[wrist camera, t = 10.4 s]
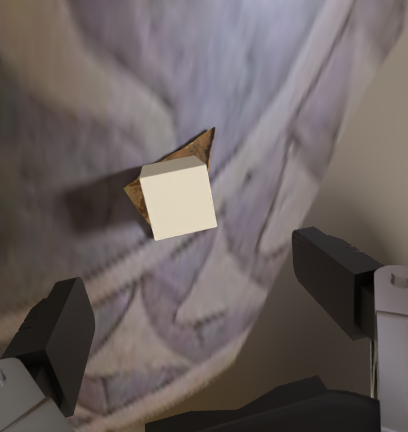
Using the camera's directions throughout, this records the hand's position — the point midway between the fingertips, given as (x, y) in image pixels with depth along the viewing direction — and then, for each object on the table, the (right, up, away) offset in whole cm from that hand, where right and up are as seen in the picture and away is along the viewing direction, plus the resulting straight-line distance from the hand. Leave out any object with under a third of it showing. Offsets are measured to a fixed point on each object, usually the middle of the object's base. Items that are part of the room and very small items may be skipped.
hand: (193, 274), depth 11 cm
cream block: (-3, +5, +18) cm, 19 cm away
